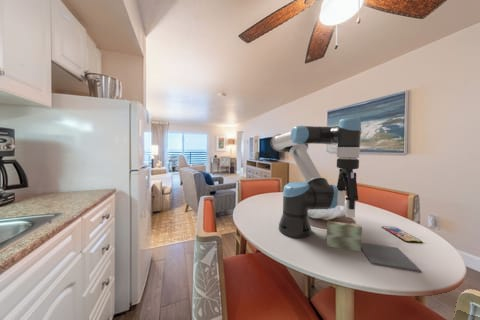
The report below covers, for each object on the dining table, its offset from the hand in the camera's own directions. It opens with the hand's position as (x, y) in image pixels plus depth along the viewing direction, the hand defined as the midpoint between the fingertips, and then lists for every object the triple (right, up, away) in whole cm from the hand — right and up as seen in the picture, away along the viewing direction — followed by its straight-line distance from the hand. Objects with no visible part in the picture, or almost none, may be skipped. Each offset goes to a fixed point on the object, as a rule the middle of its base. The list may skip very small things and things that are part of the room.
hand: (345, 210), depth 71 cm
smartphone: (+34, -15, +13) cm, 39 cm away
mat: (+13, -16, -4) cm, 21 cm away
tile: (0, -15, +1) cm, 15 cm away
